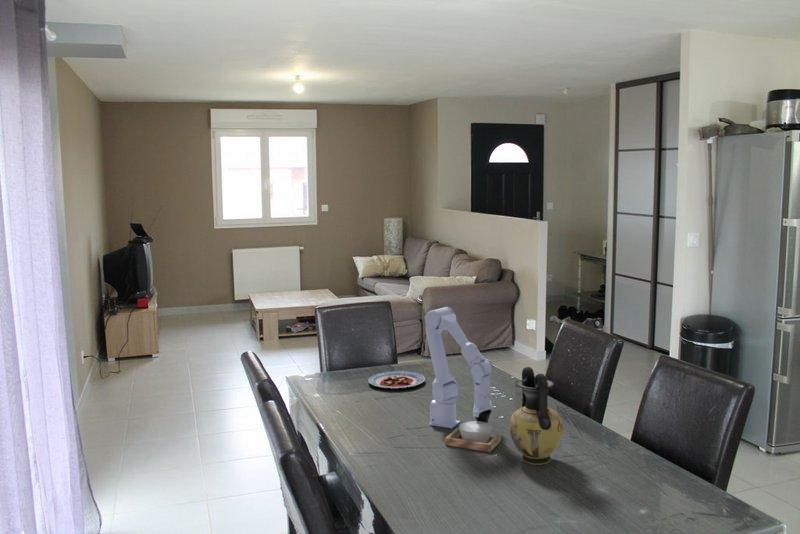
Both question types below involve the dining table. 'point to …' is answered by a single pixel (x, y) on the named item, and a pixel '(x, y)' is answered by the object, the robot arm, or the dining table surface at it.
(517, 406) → the coffee box
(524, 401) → the amphora
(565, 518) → the dining table surface
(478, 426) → the ramekin
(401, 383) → the ceramic plate
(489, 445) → the dock
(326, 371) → the dining table surface
